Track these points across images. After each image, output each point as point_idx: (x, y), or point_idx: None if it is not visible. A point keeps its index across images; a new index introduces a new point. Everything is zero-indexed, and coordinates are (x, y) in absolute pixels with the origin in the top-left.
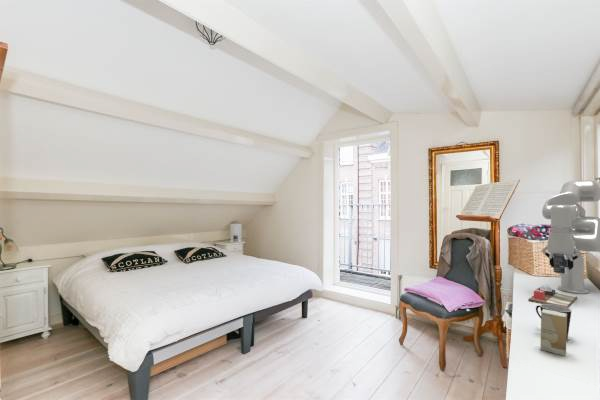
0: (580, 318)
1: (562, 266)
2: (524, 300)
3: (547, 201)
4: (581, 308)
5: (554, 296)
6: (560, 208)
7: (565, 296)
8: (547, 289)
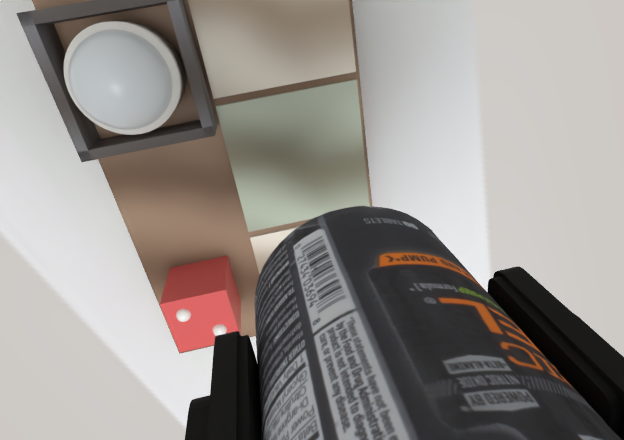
0: None
1: None
2: (159, 349)
3: None
4: (427, 223)
5: (236, 136)
6: None
7: (287, 43)
8: (158, 119)
